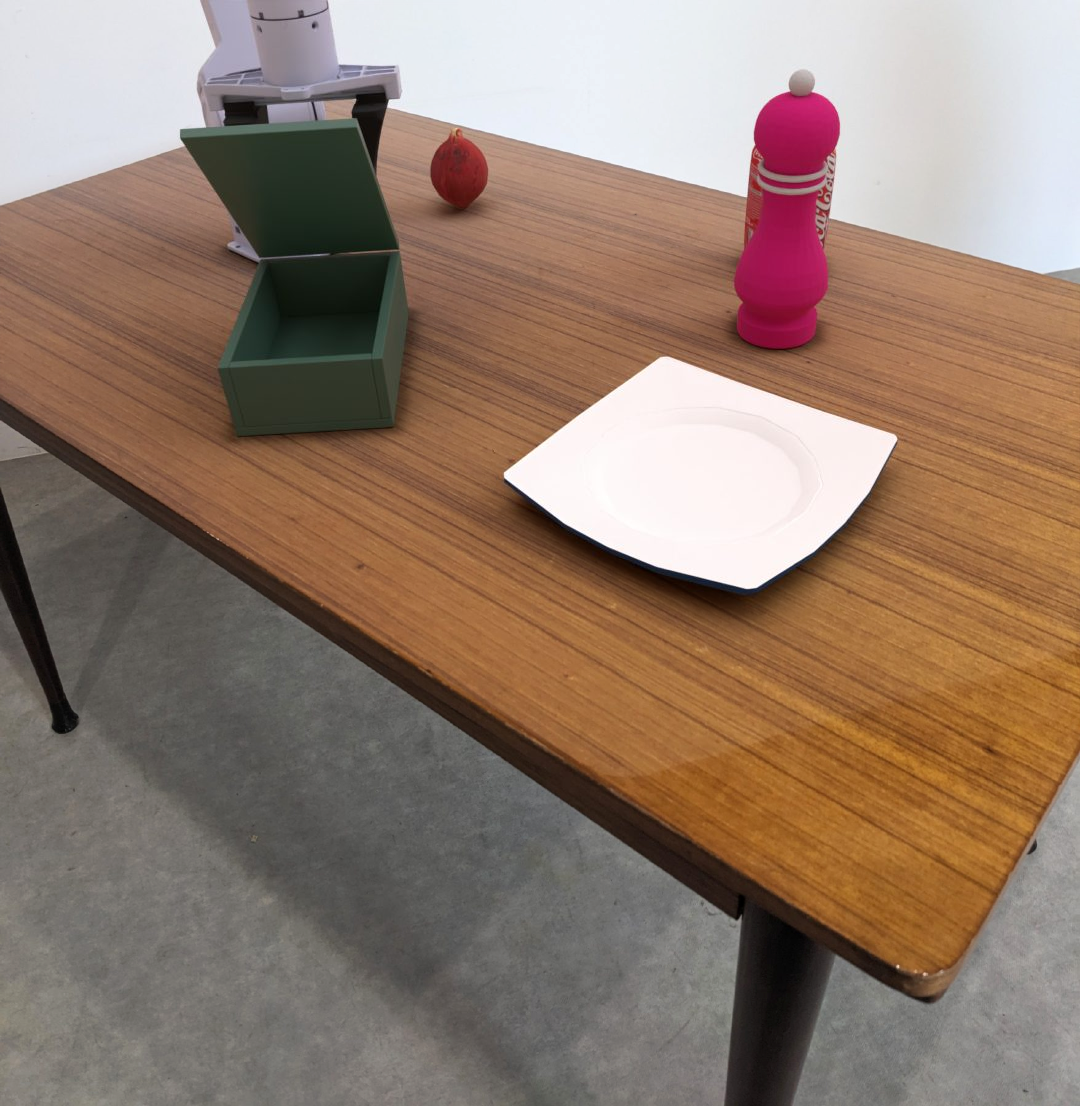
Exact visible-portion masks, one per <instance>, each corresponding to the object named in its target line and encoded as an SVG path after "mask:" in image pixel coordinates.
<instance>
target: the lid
mask: <svg viewBox="0 0 1080 1106" xmlns="http://www.w3.org/2000/svg"><path fill="white" fill-rule="evenodd" d="M179 139H180V141H181V143H183V145H184V147H185V148H186V150H187V151H188V153H189V155H190V156H191V157H192V159H193V160H194V162H195V163H196V165H197V166H198V168H199V169H200V171H201V172H202V174H203V176H204V177H205V178H206V180H207V181H208V183H209V185H210V186H211V187H212V189H213V190H214V192H215V194H216V195H217V196H218V199H220V201H221V202H222V204H223V205H224V207H225V208H226V211H227V210H228V211H229V213H230V214H231V216H232V217H233V219H234V221H235V222H236V224H237V225H238V227H239V228H240V230H241V231H242V233H243V234H244V236H245V237H246V239H247V240H248V242H249V243H250V245H251V246H252V248H253V249H254V251H255V252H256V254H257V255H258V257H259V258H268V257H285V256H301V255H318V254H330V255H335V254H351V253H368V252H384V251H400V242H399V238H398V235H397V232H396V229H395V227H394V223H393V221H392V218H391V215H390V212H389V209H388V206H387V202H386V200H385V197H384V194H383V191H382V188H381V186H380V182H379V179H378V177H377V176H378V175H377V176H376V173H375V170H374V168H373V165H372V162H371V159H370V156H369V153H368V150H367V147H366V144H365V141H364V138H363V135H362V132H361V129H360V127H359V124H358V121H357V118H352V117H350V118H337V119H335V118H334V119H327V120H318V121H302V122H286V123H270V124H254V125H238V126H222V127H206V126H205V127H191V128H180V129H179Z"/></svg>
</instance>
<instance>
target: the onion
mask: <svg viewBox="0 0 1080 1106" xmlns="http://www.w3.org/2000/svg"><path fill="white" fill-rule="evenodd" d="M429 168H430V169H429V171H430V172H429V174H430V175H429V176H430V180H431V184H432V186H433V188H434V189H435V191H436V193H437V194H438V196H439V197H440V198H441V199H442V200H444V201H445V202H446V203H448V204H450V205H452V206H454V207H456V208H457V209H460V210H464V209H467V208H468V207H469V206H471V204H472V203H474V202H475V201H476V200H477V199H478V198H479V197H480V195H481V194H482V193H483V192H484V191H485V189H486V186H487V184H488V177H489V168H488V161H487V160H486V157H485V155H484V153H483V152H482V150H481V149H480V148H479V147H478V146H477V145H476V144H475V142H473V141H471V140H470V139H468V138H466V137H464V135H463V129H461V128H459V127H458V126H455V127H454V128H451V129H450V133H449V135H448V138H447V139H446V140H445V141H444V142H442V143H441V144H440V145H439V146H438V147H437V149H436V150H435V152H434V154H433V156H432V159H431V162H430V167H429Z"/></svg>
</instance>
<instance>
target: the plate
mask: <svg viewBox="0 0 1080 1106" xmlns="http://www.w3.org/2000/svg"><path fill="white" fill-rule="evenodd" d="M898 440H899V439H898V437H897V436H896V434H895V433H891V432H888V431H885V430H882V429H879V428H876V427H873V426H869V425H867V424H863V423H860V422H857V421H854V420H851V419H848V418H844V417H842V416H839V415H835V414H832V413H828V412H826V411H823V410H820V409H817V408H814V407H811V406H808V405H805V404H802V403H801V402H800V403H799V402H797V401H794V400H791V399H787V398H785V397H783V396H780V395H776V394H774V393H770V392H768V391H765V390H762V389H759V388H756V387H754V386H751V385H747V384H744V383H742V382H738V381H736V380H733V379H731V378H728V377H725V376H722V375H720V374H716V373H714V372H712V371H708V370H707V369H703V368H700V367H697V366H695V365H692V364H689V363H687V362H684V361H681V360H679V359H675V358H673V357H671V356H659V358H657V359H656V360H655V361H653V362H652V363H651V364H649V365H648V366H646V367H644V368H643V369H642V370H640V371H639V372H637V373H636V374H635V375H633V376H632V377H630V378H629V379H627V380H626V381H624V383H622V384H621V385H619V386H618V387H616V388H615V389H613V390H612V391H611V392H610V393H608V394H606V395H605V396H604V397H602V398H601V399H600V400H598V401H597V402H595V403H594V404H592V405H591V406H590V407H588V408H587V409H585V410H584V411H583V412H581V413H580V414H578V415H577V416H576V417H574V418H573V419H572V420H571V421H569V422H567V424H565V425H564V426H562V427H561V428H559V430H557V431H556V432H555V433H553V434H552V435H551V436H549V437H548V438H546V440H545V441H543V442H542V443H540V444H539V445H537V447H535V448H533V450H531V451H530V452H529V453H527V454H526V455H525V456H524V457H522V458H521V459H520V460H518V461H517V462H516V463H515V464H513V465H512V466H511V467H509V468H508V469H507V470H506V471H504V472H503V482H504V484H505V485H507V487H510V488H511V490H513V491H514V492H516V493H517V494H519V495H520V496H521V497H523V498H524V499H525V500H526V501H528V502H529V503H530V504H532V505H533V506H535V507H536V508H537V509H538V510H540V511H541V512H542V513H544V514H545V515H546V516H547V517H549V518H550V519H552V520H553V521H554V522H556V523H557V524H558V525H560V526H561V527H562V528H563V529H565V530H566V531H567V532H569V533H572V534H573V535H574V536H577V537H579V538H581V539H582V540H584V541H586V542H588V543H590V544H592V545H594V546H595V547H597V548H599V549H601V550H603V551H605V552H607V553H609V554H611V555H613V556H616V557H618V558H620V559H623V560H626V561H628V562H630V563H632V564H635V565H637V566H639V567H642V568H644V569H647V570H649V571H651V572H654V573H656V574H659V575H662V576H666V577H670V578H674V579H677V580H680V581H681V580H682V581H685V582H689V583H693V584H696V585H701V586H704V587H709V588H712V589H716V590H721V591H724V592H728V593H733V594H736V595H740V596H743V595H753V594H757V593H759V592H760V591H762V590H763V589H766V587H768V586H769V585H771V584H772V583H774V582H776V581H778V580H779V579H781V578H783V576H785V575H786V574H788V573H790V572H792V571H794V569H796V568H797V567H799V566H800V565H802V564H804V563H805V562H807V561H808V560H811V558H813V557H814V556H815V555H816V554H817V553H818V552H819V551H820V550H822V549H823V548H824V547H825V546H826V545H827V544H828V543H829V542H830V541H831V540H832V539H833V538H835V536H836V535H838V534H839V533H840V532H841V531H842V530H843V529H844V528H845V527H846V526H847V525H848V523H850V521H851V519H852V518H853V517H854V516H855V515H856V513H857V512H858V510H859V509H860V508H861V507H862V506H863V504H864V503H865V502H866V500H867V499H868V498H869V496H870V494H871V493H872V491H873V489H874V487H875V486H876V484H877V482H878V480H879V478H880V476H881V474H882V473H883V471H884V468H885V467H886V465H887V463H888V462H889V460H890V458H891V456H892V454H893V452H894V451H895V448H896V447H897V445H898Z"/></svg>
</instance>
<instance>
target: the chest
mask: <svg viewBox="0 0 1080 1106" xmlns="http://www.w3.org/2000/svg"><path fill="white" fill-rule="evenodd" d="M401 255H402V254H401V251H400V250H387V251H370V252H354V253H337V254H330V255H322V256H306V257H289V258H273V259H260V262H259V263H258V265H257V267H256V269H255V272H254V275H253V277H252V280H251V281H250V284H249V287H248V289H247V292H246V294H245V297H244V299H243V303H242V305H241V308H240V309H239V311H238V314H237V317H236V319H235V323H234V324H233V327H232V330H231V332H230V335H229V338H228V340H227V343H226V345H225V348H224V349H223V352H222V355H221V357H220V361H219V362H218V365H217V372H218V376H219V379H220V383H221V386H222V391H223V393H224V397H225V399H226V403H227V406H228V407H227V408H228V411H229V413H230V417H231V421H232V424H233V427H234V431H235V435H236V437H249V436H250V437H251V436H266V435H268V436H269V435H281V434H282V435H283V434H285V435H286V434H299V433H316V432H317V433H318V432H329V431H330V432H332V431H333V432H334V431H351V430H366V429H382V428H383V429H384V428H393V427H394V426H395V420H396V419H395V418H396V412H397V405H398V398H399V389H400V382H401V375H402V369H403V360H404V353H405V346H406V338H407V330H408V323H409V316H410V312H409V311H410V310H409V307H408V306H409V304H408V297H407V291H406V285H405V284H406V283H405V277H404V270H403V263H402V256H401Z"/></svg>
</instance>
